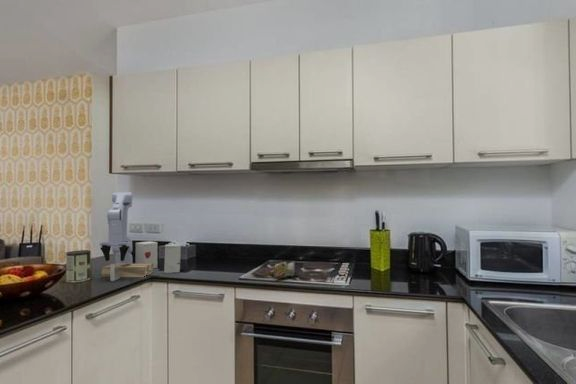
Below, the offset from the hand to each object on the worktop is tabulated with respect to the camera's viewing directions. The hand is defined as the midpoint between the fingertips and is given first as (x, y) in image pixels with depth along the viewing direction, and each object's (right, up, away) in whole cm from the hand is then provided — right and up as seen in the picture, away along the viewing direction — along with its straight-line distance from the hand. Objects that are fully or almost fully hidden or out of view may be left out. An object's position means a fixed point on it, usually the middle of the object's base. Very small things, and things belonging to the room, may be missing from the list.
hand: (114, 260), depth 163 cm
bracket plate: (0, -9, 0) cm, 9 cm away
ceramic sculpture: (+83, -9, +2) cm, 84 cm away
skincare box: (+23, -10, +17) cm, 30 cm away
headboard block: (+1, -10, +10) cm, 14 cm away
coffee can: (-18, -10, 0) cm, 20 cm away
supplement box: (+4, -10, +27) cm, 29 cm away
